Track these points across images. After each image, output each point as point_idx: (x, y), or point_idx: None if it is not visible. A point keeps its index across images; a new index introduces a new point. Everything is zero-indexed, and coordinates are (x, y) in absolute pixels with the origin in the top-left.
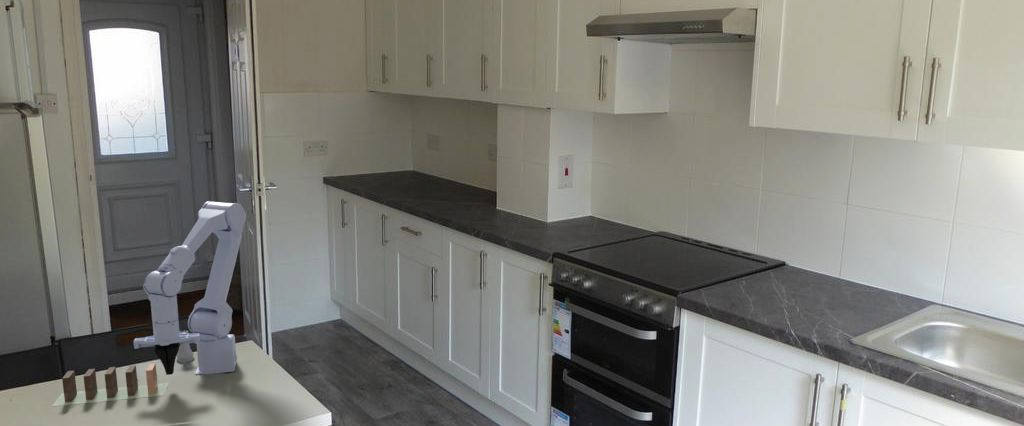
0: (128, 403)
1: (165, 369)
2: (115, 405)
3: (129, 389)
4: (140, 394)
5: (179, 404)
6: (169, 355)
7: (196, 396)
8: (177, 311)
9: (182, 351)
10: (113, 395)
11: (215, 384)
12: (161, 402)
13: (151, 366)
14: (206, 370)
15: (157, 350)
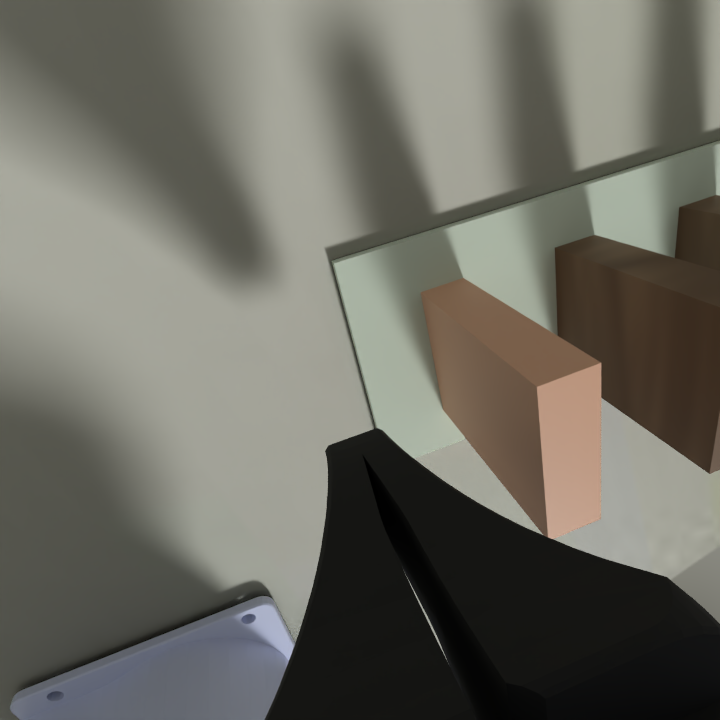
0: (558, 116)
1: (400, 453)
2: (642, 76)
3: (617, 251)
4: (515, 268)
5: (71, 73)
6: (391, 625)
7: (14, 279)
8: None
9: None
10: (690, 214)
11: (10, 513)
12: (292, 133)
13: (568, 470)
14: (203, 648)
15: (681, 660)
